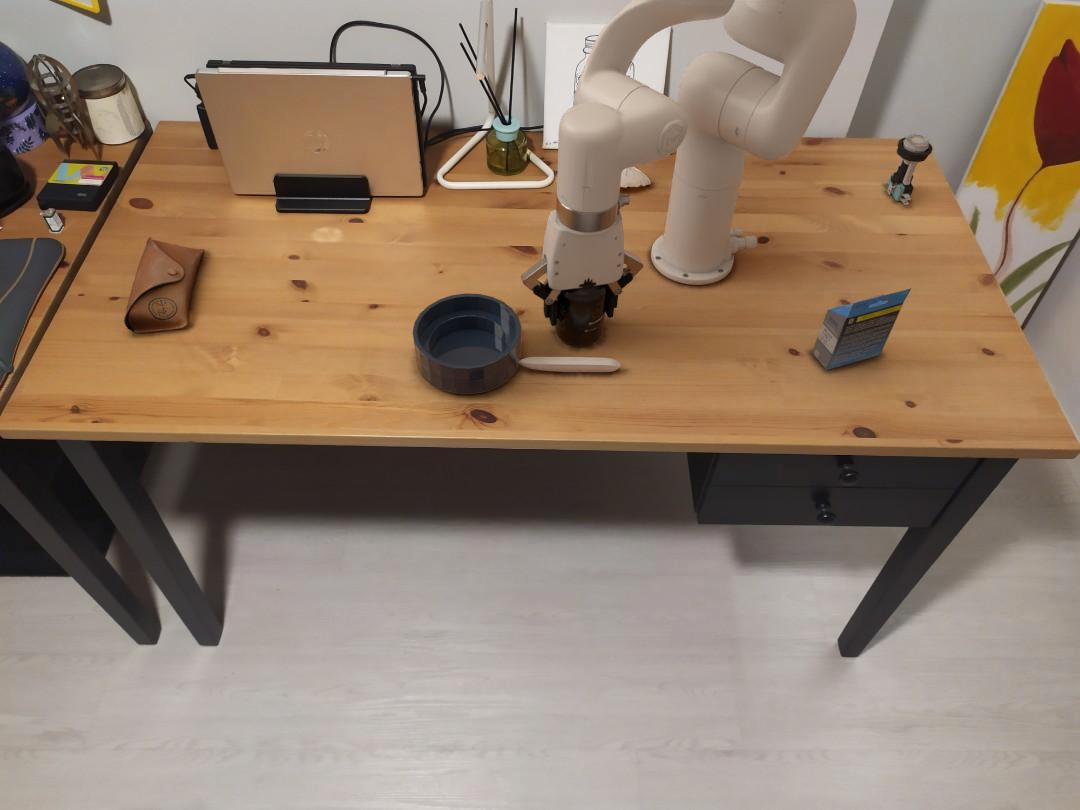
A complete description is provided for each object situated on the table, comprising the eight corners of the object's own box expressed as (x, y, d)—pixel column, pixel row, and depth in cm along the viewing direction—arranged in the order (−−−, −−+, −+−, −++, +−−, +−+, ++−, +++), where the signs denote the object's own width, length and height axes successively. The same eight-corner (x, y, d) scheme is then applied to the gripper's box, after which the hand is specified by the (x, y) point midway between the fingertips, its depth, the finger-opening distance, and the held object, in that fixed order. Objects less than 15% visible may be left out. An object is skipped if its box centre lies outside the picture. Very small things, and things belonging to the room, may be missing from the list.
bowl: (510, 316, 116) (509, 287, 112) (531, 388, 107) (531, 359, 103) (411, 330, 114) (407, 301, 110) (424, 404, 105) (419, 375, 101)
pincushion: (579, 192, 136) (581, 163, 132) (580, 172, 140) (581, 143, 136) (650, 195, 136) (654, 166, 132) (649, 175, 140) (653, 145, 136)
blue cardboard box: (864, 337, 114) (894, 269, 105) (881, 356, 112) (913, 287, 102) (810, 352, 112) (835, 284, 103) (826, 372, 110) (853, 303, 100)
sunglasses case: (191, 326, 113) (151, 297, 109) (155, 348, 116) (114, 321, 111) (206, 246, 125) (171, 217, 120) (173, 268, 127) (137, 240, 123)
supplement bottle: (599, 352, 112) (605, 285, 103) (550, 344, 113) (552, 277, 104) (606, 318, 116) (613, 252, 107) (559, 312, 117) (562, 245, 108)
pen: (516, 364, 110) (516, 355, 109) (619, 365, 110) (621, 356, 109) (516, 372, 109) (516, 363, 108) (620, 373, 109) (621, 364, 108)
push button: (920, 206, 135) (943, 153, 127) (889, 208, 135) (911, 154, 127) (905, 183, 139) (927, 130, 132) (875, 185, 139) (895, 131, 131)
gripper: (646, 182, 102) (632, 289, 116) (511, 198, 100) (512, 306, 113) (664, 217, 98) (648, 324, 111) (523, 235, 95) (523, 343, 108)
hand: (579, 314), depth 112 cm, fingers open, 7 cm apart
